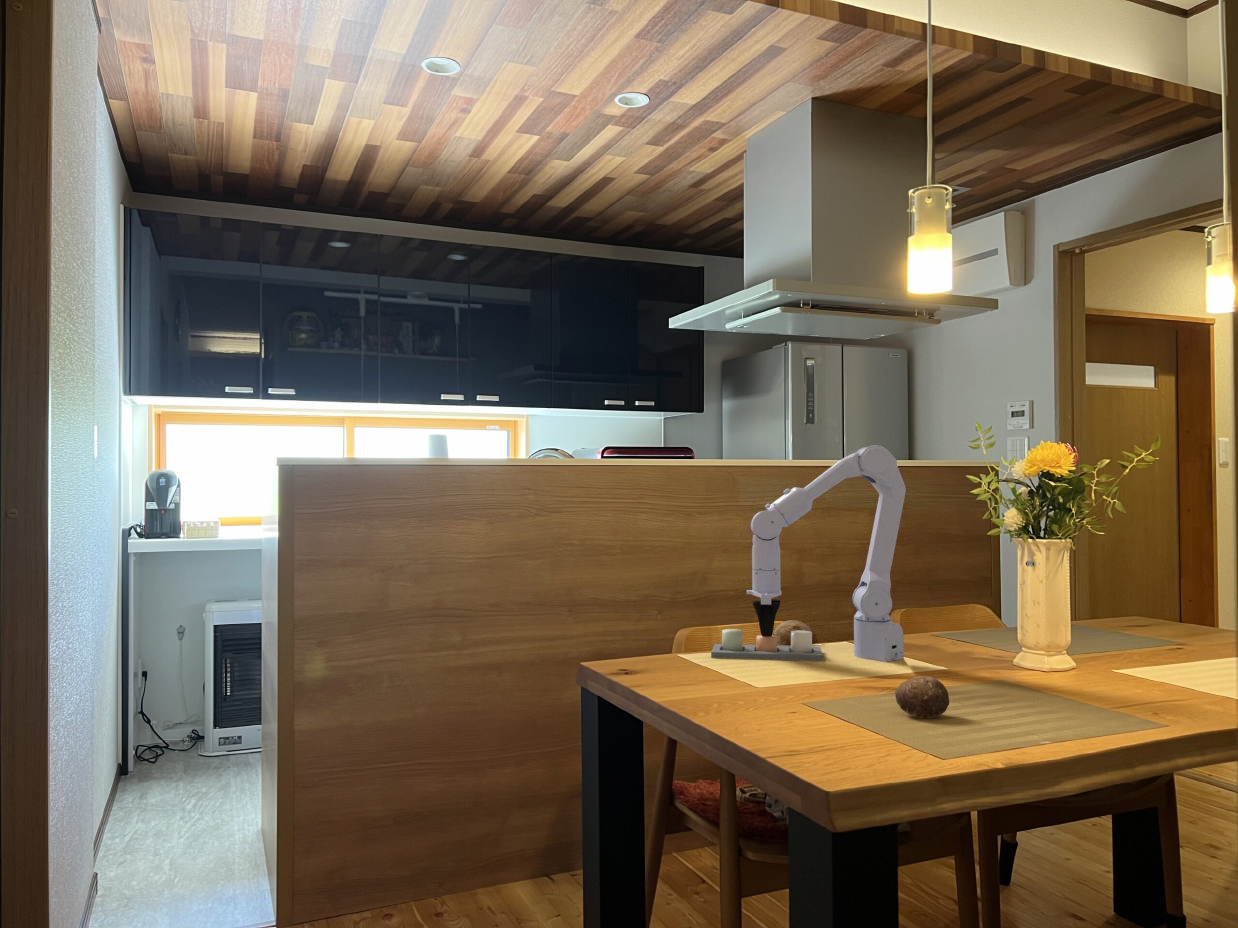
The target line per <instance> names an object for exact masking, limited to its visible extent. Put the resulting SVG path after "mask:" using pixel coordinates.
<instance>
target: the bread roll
mask: <svg viewBox="0 0 1238 928" xmlns="http://www.w3.org/2000/svg"><path fill="white" fill-rule="evenodd" d="M791 631H810V632H812V645H814V644H817V643H818V638H817V634H816V632H815V631H814V630H813V628H812V627H811V626H809V625H808V624H806V623H805V622H803V621H801V620H796V619H795V620H790V619H789V620H786V621H784V622H781V623H779V624H778V625H777V626H776V627H775V629H774V630H773V634H772V635H775V636H777V645H781V646H791Z"/></svg>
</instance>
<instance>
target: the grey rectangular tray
mask: <svg viewBox="0 0 1238 928" xmlns="http://www.w3.org/2000/svg"><path fill="white" fill-rule="evenodd" d="M710 653H711V656H710V657H711V659H737V660H738V659H739V660H741V659H742V660H772V661H773V660H776V661H777V660H778V661H805V662H806V661H808V662H811V661H812V662H823V661H824V660H823V658H824V657H823V656H824V655H823V652H822V647H821V646H812V653H802V652H791V645H777V652H766V651H756V644H743V651H730V650H722V643H714V645H713V647H712V649H711V652H710Z"/></svg>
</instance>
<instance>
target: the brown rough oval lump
mask: <svg viewBox="0 0 1238 928" xmlns="http://www.w3.org/2000/svg"><path fill="white" fill-rule="evenodd" d="M894 695H895V701H896V704H897V705H898V706H899V708H900V709H901V710H902V712H904V713H905V714H908V715H909V716H911V717H915V718H917V719H932V718H937V717H939V716H941V715H943V714H944V713H946V711H947V709H948V707H949V705H950V696H949V692H948V690H947V689H946V687H945V685H944V684H943V683H942V682H941V681H939V679H938V678H936V677H932V676H927V675H925V676H923V675H922V676H915V677H913V678H912V677H911V678H909V679H907V680H905V681H903V682H901V683H900V684H899V685H898V686H897V688H896V690H895V692H894Z"/></svg>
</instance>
